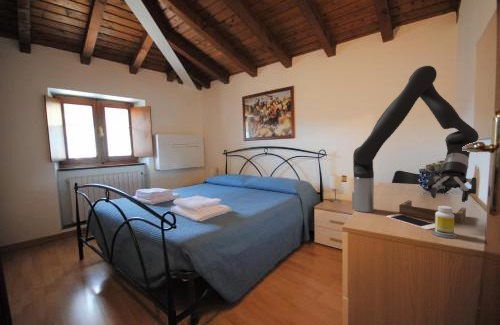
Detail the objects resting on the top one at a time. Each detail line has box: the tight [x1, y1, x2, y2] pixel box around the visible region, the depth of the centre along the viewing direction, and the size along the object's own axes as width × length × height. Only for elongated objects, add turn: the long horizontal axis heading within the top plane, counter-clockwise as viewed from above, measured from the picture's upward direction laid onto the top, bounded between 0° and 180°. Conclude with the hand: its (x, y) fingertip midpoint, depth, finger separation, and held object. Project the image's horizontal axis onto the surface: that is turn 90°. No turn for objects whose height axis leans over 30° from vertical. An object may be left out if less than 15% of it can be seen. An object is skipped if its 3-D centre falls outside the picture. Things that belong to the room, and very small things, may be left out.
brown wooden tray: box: [398, 199, 467, 225], centre depth 105 cm, size 14×22×4 cm, turn 39°
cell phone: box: [385, 213, 435, 231], centre depth 97 cm, size 9×18×1 cm, turn 20°
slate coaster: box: [431, 229, 458, 240], centre depth 83 cm, size 7×7×1 cm
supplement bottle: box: [434, 205, 455, 235], centre depth 82 cm, size 5×5×10 cm
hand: (447, 198), depth 85 cm, fingers open, 8 cm apart
